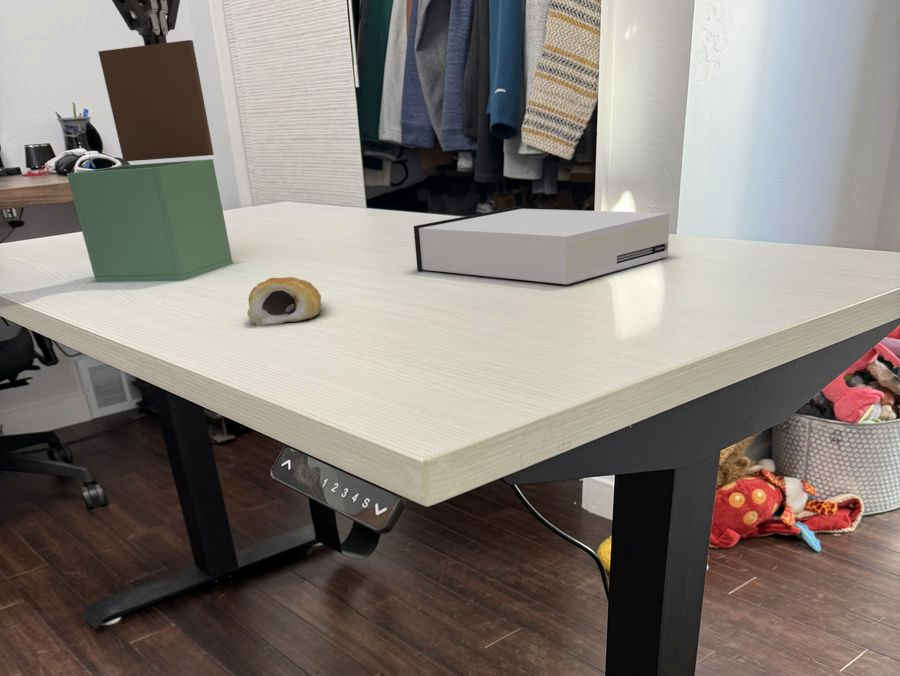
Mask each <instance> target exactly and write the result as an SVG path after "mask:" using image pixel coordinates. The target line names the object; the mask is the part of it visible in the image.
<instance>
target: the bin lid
mask: <svg viewBox="0 0 900 676" xmlns="http://www.w3.org/2000/svg"><path fill="white" fill-rule="evenodd" d="M98 56H99V61H100V65H101V69H102V74H103V78H104V82H105V86H106V91H107V96H108V100H109V105H110V109H111V113H112V117H113V122H114V126H115V130H116V135H117V140H118V143H119V147H120V152H121V156H122V160H123V162H136V161H137V162H138V161H151V160H152V161H153V160H165V159H178V158H179V159H180V158H194V157H207V156H214V154H215V153H214V149H213V148H214V147H213V143H212V138H211V132H210V131H211V130H210V127H209V121H208V116H207V109H206V105H205V100H204V99H205V98H204V94H203V88H202V83H201V79H200V78H201V77H200V73H199V67H198V61H197V55H196V50H195V44H194V41H193V40H192V39H185V40H178V41H171V42H167V43H161V44H153V45H139V46H137V45H136V46H129V47H122V48H114V49H105V50H98Z"/></svg>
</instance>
